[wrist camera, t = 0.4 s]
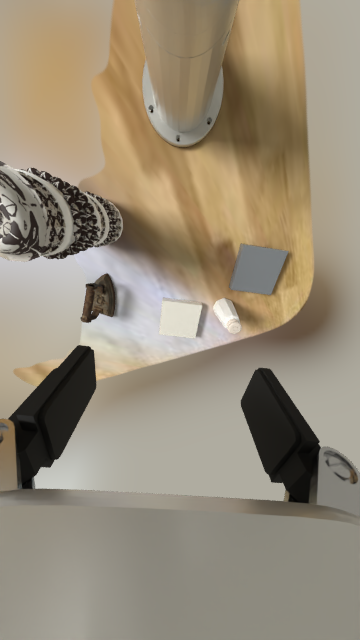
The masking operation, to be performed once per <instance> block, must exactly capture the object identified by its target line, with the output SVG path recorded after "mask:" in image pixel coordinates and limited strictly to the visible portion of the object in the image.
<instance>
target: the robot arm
mask: <svg viewBox="0 0 360 640" xmlns="http://www.w3.org/2000/svg"><path fill="white" fill-rule="evenodd" d="M238 3H239V0H135V4H136V9H137V14H138V20H139V25H140V30H141V35H142V40H143V46H144V51H145V56H146V61H145V65H144V69H143V80H142V84H143V97H144V103H145V107H146V111H147V114H148V117H149V119H150V122H151V124H152V126H153V127H154V129H155V131H156V132H157V133H158V134H159V136H160V137H161V138H162V139H164V140H165V141H166V142H168V143H169V144H171V145H174V146H177V147H188V146H192V145H194V144H196V143H198V142H200V141H201V140H202V139H203V138H204V137H205V136H206V135H207V134H208V133H209V131H210V130H211V128H212V127H213V125H214V123H215V121H216V119H217V116H218V113H219V110H220V107H221V103H222V97H223V85H224V80H223V69H222V62H223V58H224V55H225V51H226V47H227V44H228V40H229V36H230V32H231V29H232V25H233V21H234V18H235V14H236V10H237V6H238ZM151 111H153V113H150V112H151ZM207 122H209V123H210V125H208V124H207ZM177 139H179V140H180V141H179V142H177ZM95 389H96V373H95V359H94V350H92V349H91V347H89V346H81V345H78V346H77V347H76V348H75V349H74V350H73V351H72V352H71V354H70V355H69V356H68V357H67V358H66V359H65V360H64V361H63V363H62V364H61V365H60V366H59V367H58V368H56V369H54V370H53V371H51V373H50V374H49V375H48V376H47V377H46V378H45V379H44V380H43V381H42V382H41V384H40V385H39V386H38V387H37V388H36V389H35V390H34V391H33V392H32V393H31V394H30V396H29V397H28V398H27V399H26V400H25V401H24V402H23V403H22V404H21V405H20V407H19V408H18V409H17V410H16V411H15V412H14V413H13V414H12V415H11V416H10V417H9V419H0V640H360V473H359V471H358V470H357V468H356V467H355V466H354V465H353V463H352V462H351V461H350V460H349V459H348V458H347V457H346V456H344V455H343V454H342V453H340V452H339V451H337V450H335V449H333V448H330V447H322V448H321V447H320V446H319V444H318V443H319V440H318V438H317V437H316V435H315V434H314V432H313V431H312V429H311V428H310V426H309V425H308V424H307V422H306V421H305V419H304V418H303V416H302V415H301V413H300V412H299V410H298V409H297V407H296V406H295V405H294V403H293V401H292V400H291V399H290V397H289V396H288V394H287V393H286V391H285V390H284V388H283V387H282V386H281V384H280V383H279V381H278V379H277V378H276V377H275V375H274V374H273V372H272V371H271V370H270V369H267V368H259V369H258V370H255V372H254V374H253V376H252V378H251V380H250V383H249V385H248V387H247V389H246V391H245V393H244V395H243V397H242V400H241V407H242V410H243V412H244V415H245V418H246V421H247V423H248V426H249V429H250V431H251V434H252V437H253V440H254V442H255V445H256V448H257V450H258V453H259V456H260V459H261V461H262V464H263V467H264V469H265V472H266V473H267V474H269V477H270V479H271V482H275V483H283V484H284V486H285V488H286V491H285V496H284V501H270V500H253V499H239V498H223V497H204V496H187V495H170V494H153V493H133V492H114V491H95V490H68V489H67V490H66V489H35V482H34V476H35V475H36V474H37V473H38V471H39V469H40V467H51V465H52V464H53V462H54V460H55V459H58V458H59V457H60V456H61V454H62V452H63V450H64V449H65V447H66V445H67V443H68V441H69V439H70V437H71V435H72V433H73V431H74V429H75V428H76V426H77V424H78V422H79V420H80V418H81V416H82V414H83V412H84V411H85V408H86V407H87V405H88V403H89V401H90V399H91V397H92V395H93V393H94V391H95Z"/></svg>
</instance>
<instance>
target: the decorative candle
mask: <svg viewBox="0 0 360 640" xmlns="http://www.w3.org/2000/svg"><path fill="white" fill-rule="evenodd" d="M122 230H123V219H122V217H121V215H120V212H119V210H118V209H117V208H116V207H115V206H114V204H113V203H111V202H109V201H108V200H106V199H104V198H102V197H100V196H98V195H94V194H92V193H90V192H82V191H80V190H79V189H78V188H77V187H76V186H70V184H69V183H67V182H63V181H62V180H61V179H60V178H58V177H52V176H51V175H50V174H49V173H47V172H45V171H41V172H39V171H38V170H37V169H35V168H28V169H27V171H25V170H23V169H21V170H16V169H14V168H12V167H10V166H8V165H6V164H5V163H3V162H1V161H0V257H3V258H5V259H7V260H11V261H22V262H27V261H30V260H32V259H35V258H38V257H40V256H44V257H46V258H48V259H54V258H57V259H64V258H66V257H67V255H74V254H77V253H79V252H80V251H85V250H87V249H88V248H91V247H93V246H95V247H99V246H105V245H108V244H110V243H113V242H115V241H116V240H117V239H118V238H119V237H120V236H121V233H122Z"/></svg>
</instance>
